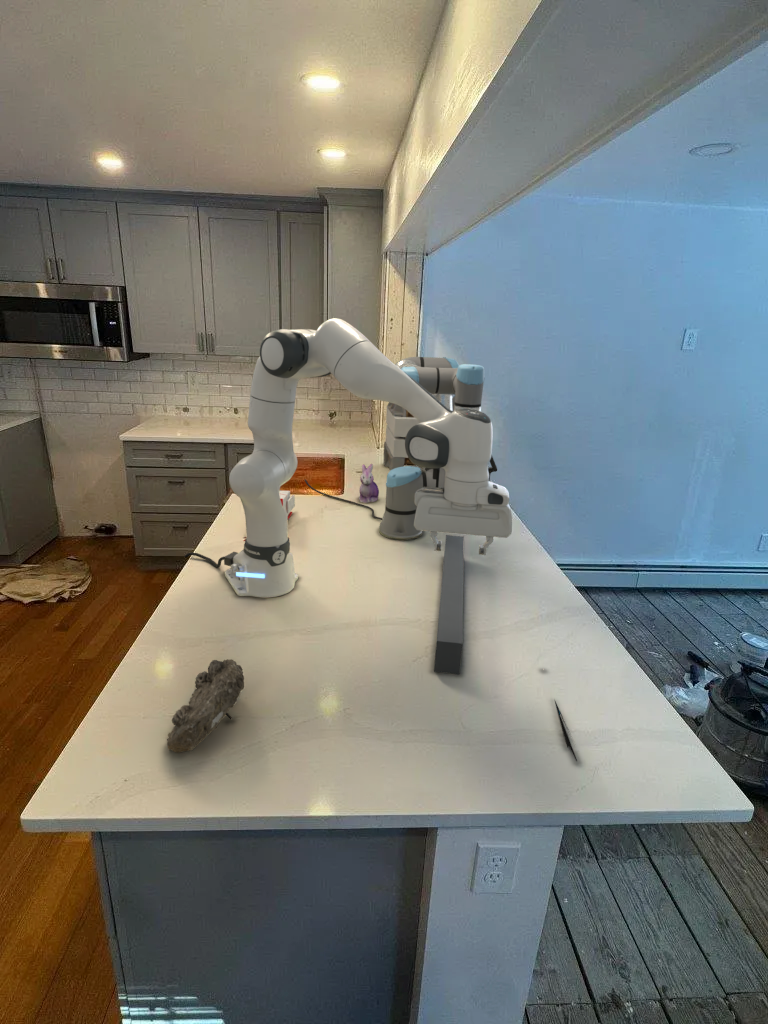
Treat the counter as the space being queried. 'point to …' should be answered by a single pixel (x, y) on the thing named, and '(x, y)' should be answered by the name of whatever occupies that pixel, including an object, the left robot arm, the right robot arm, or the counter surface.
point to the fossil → (206, 705)
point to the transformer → (398, 435)
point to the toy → (287, 501)
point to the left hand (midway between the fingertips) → (459, 551)
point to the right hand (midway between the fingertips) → (459, 491)
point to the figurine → (368, 486)
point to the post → (451, 609)
